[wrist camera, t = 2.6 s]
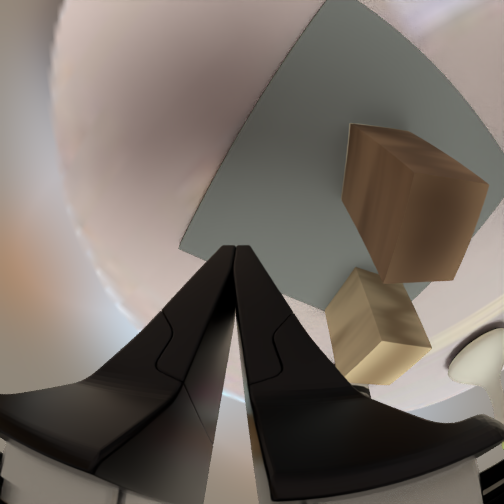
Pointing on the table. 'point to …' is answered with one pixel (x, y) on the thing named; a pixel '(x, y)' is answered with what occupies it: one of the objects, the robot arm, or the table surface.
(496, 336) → the flower in vase
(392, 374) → the oak block
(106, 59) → the table surface
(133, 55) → the table surface
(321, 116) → the slate mat
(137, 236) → the table surface
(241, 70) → the table surface
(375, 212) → the walnut block
